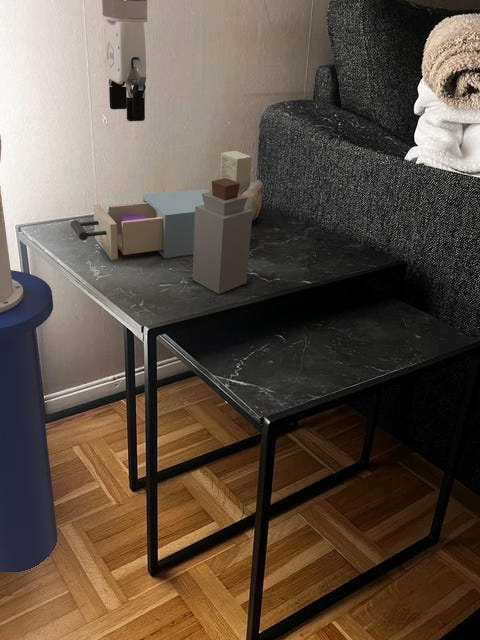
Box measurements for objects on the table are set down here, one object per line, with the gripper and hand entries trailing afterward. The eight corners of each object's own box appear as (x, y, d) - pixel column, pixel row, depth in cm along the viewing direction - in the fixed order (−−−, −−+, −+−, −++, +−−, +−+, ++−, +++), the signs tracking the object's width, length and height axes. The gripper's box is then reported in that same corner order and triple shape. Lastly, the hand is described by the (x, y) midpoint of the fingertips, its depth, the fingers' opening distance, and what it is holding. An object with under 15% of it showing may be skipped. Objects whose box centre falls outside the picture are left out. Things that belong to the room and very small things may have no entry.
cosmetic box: (249, 209, 141) (253, 156, 135) (233, 212, 139) (237, 159, 133) (232, 200, 146) (235, 149, 139) (217, 203, 143) (220, 151, 137)
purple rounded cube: (128, 244, 114) (128, 224, 112) (121, 236, 117) (121, 216, 115) (148, 242, 116) (148, 222, 114) (141, 234, 119) (141, 214, 117)
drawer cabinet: (164, 258, 115) (165, 215, 110) (143, 235, 123) (142, 194, 119) (228, 249, 121) (231, 207, 116) (204, 228, 129) (206, 188, 125)
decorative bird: (222, 232, 128) (224, 198, 124) (244, 209, 141) (247, 177, 137) (246, 237, 127) (249, 202, 123) (266, 213, 140) (270, 181, 136)
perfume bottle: (246, 283, 108) (255, 184, 99) (218, 293, 104) (225, 191, 95) (220, 269, 112) (226, 173, 103) (192, 279, 108) (196, 180, 99)
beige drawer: (83, 263, 108) (81, 227, 105) (68, 241, 116) (66, 207, 112) (175, 251, 116) (176, 217, 112) (155, 231, 124) (155, 198, 120)
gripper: (88, 5, 109) (93, 105, 117) (119, 15, 96) (122, 126, 104) (129, 7, 112) (130, 104, 120) (164, 17, 99) (163, 124, 108)
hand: (126, 114), depth 112 cm, fingers open, 9 cm apart
